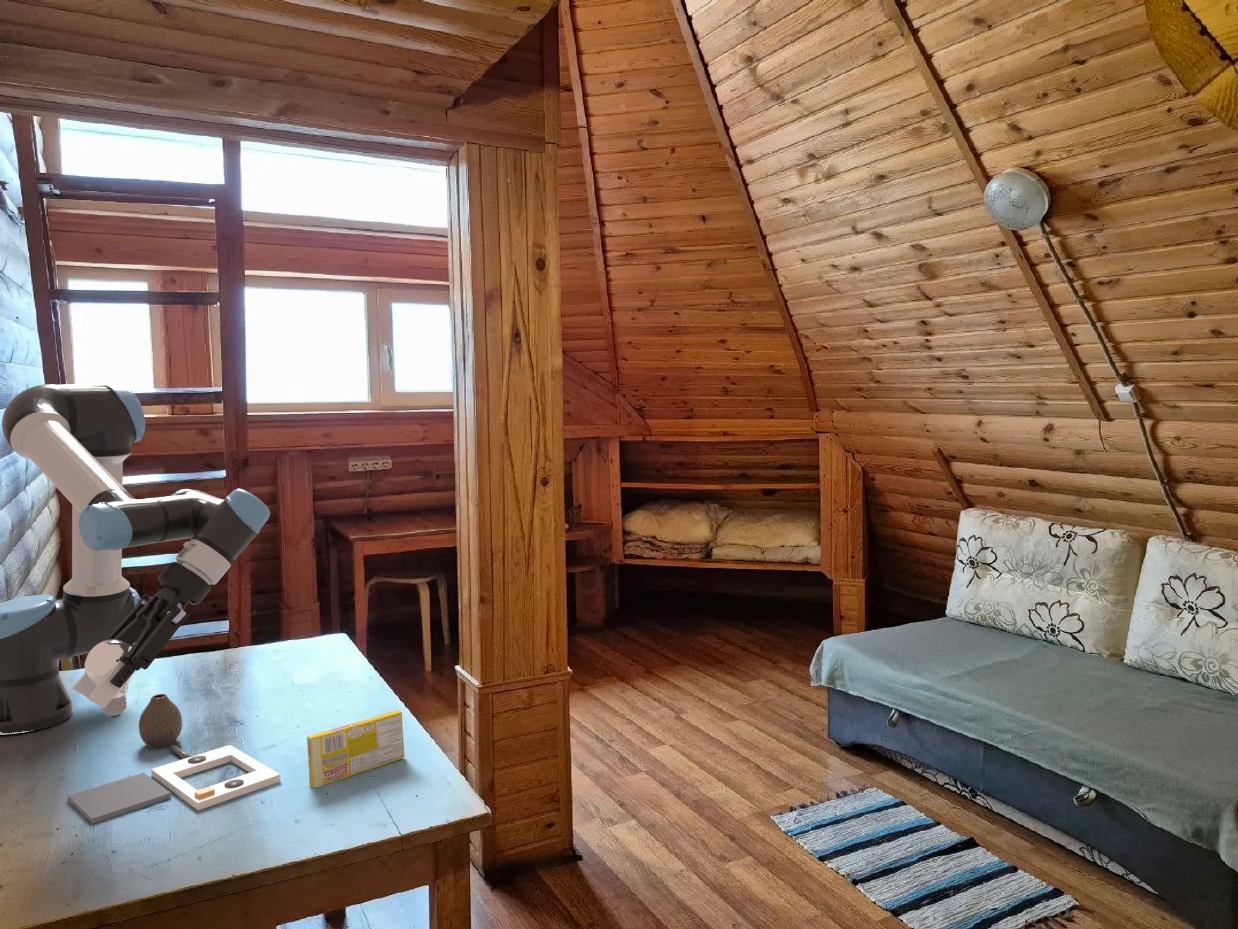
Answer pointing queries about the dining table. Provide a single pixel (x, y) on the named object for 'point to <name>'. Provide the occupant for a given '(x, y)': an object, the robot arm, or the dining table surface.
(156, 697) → the vase
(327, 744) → the candy box
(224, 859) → the dining table surface
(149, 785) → the felt pad
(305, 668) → the dining table surface
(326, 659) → the dining table surface
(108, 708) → the light bulb
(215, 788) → the white square frame
